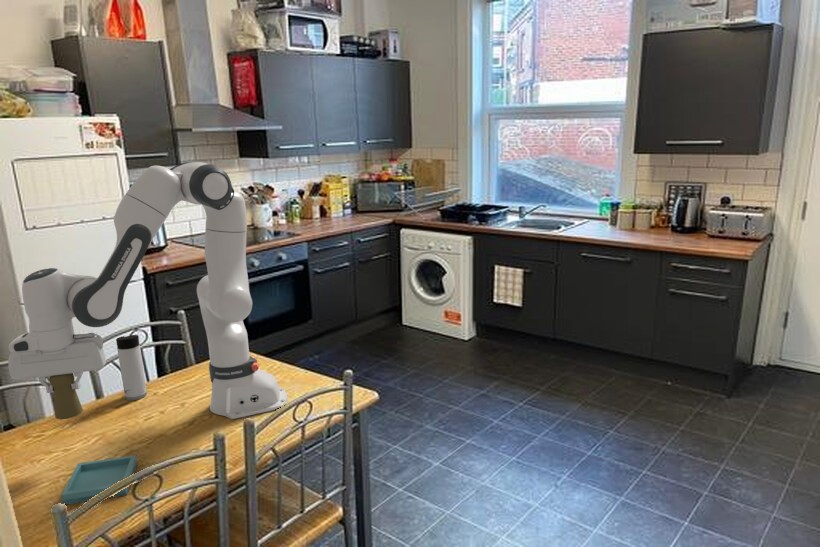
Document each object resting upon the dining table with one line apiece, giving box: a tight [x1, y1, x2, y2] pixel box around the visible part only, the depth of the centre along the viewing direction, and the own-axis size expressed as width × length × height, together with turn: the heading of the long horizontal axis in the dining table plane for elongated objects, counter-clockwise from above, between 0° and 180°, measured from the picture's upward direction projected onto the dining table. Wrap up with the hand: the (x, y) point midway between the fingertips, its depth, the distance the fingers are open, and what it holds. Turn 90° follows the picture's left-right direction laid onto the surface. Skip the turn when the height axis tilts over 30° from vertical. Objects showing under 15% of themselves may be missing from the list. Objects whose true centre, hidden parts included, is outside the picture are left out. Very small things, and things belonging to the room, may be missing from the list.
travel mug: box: [115, 334, 148, 401], centre depth 181 cm, size 6×7×20 cm
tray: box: [61, 454, 138, 505], centre depth 139 cm, size 13×13×3 cm
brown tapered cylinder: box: [49, 373, 84, 420], centre depth 145 cm, size 6×6×11 cm
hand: (64, 390), depth 144 cm, fingers closed on brown tapered cylinder, 4 cm apart
